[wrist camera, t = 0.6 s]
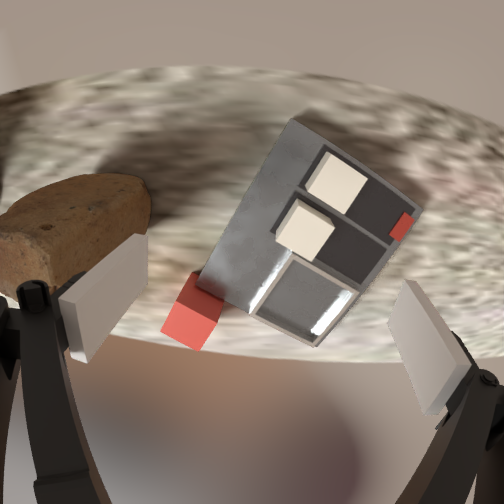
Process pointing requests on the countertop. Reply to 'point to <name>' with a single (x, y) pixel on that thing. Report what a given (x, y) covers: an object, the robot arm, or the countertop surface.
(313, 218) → the toggle
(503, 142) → the countertop surface
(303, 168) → the panel
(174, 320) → the coral toy cube
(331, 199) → the toggle
